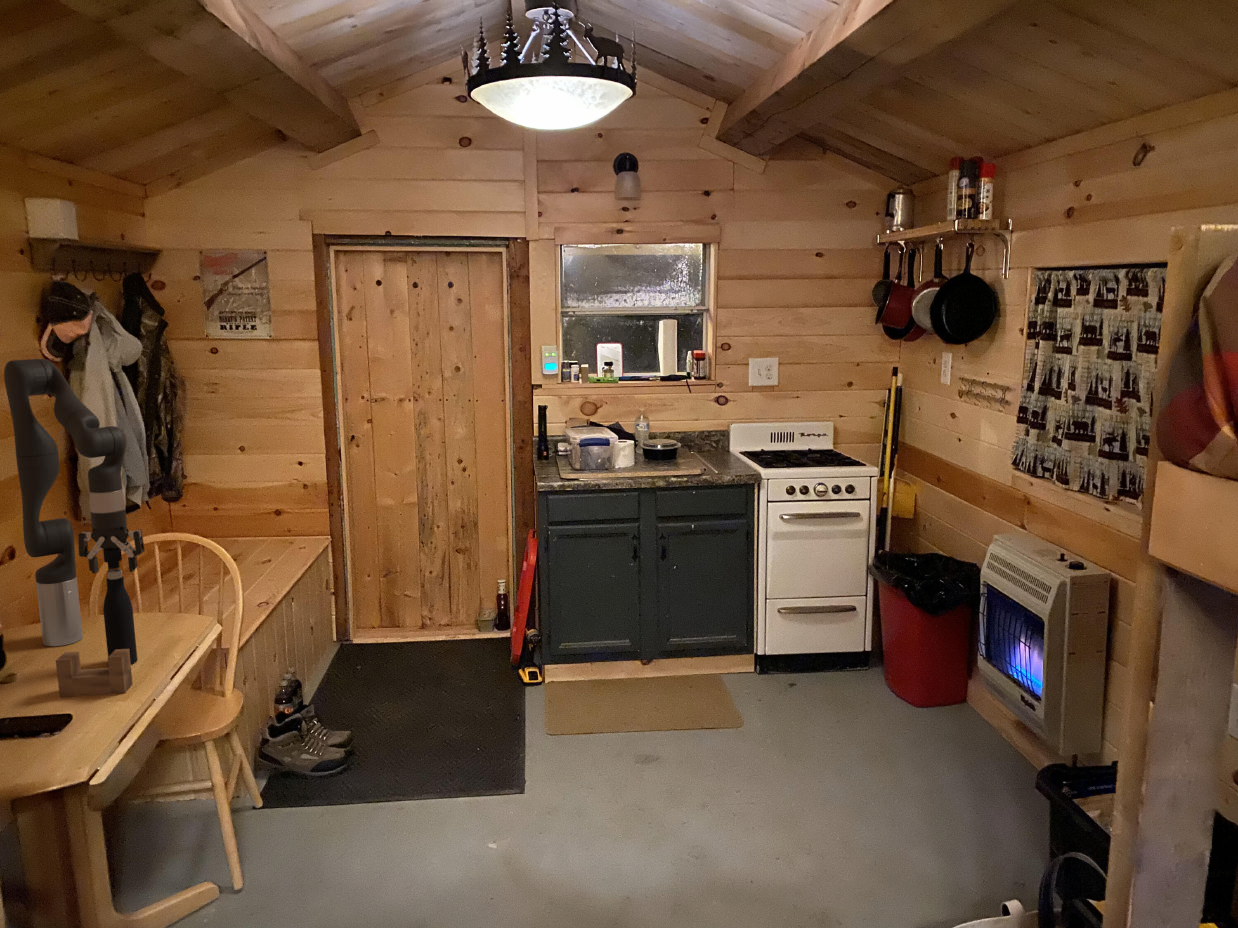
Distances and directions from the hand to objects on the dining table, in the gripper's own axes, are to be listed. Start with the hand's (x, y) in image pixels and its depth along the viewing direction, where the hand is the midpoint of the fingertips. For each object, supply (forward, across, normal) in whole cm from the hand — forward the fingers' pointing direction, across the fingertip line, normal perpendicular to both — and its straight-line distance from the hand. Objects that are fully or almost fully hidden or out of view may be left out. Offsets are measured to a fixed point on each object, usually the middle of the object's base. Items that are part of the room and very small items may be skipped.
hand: (114, 571), depth 224 cm
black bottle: (+24, 0, 0) cm, 24 cm away
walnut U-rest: (+24, 0, -17) cm, 29 cm away
